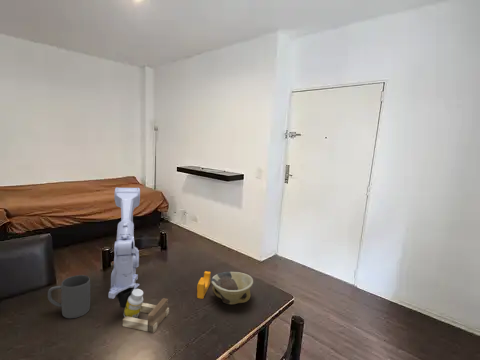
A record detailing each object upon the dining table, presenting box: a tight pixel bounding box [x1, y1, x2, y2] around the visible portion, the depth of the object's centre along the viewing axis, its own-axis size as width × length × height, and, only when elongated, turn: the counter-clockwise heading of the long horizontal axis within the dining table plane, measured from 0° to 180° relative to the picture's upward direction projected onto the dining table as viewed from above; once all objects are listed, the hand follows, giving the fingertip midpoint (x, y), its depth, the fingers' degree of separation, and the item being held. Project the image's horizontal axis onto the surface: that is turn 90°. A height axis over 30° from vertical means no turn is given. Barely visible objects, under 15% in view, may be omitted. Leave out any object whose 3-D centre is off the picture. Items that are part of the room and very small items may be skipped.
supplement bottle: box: [123, 288, 144, 318], centre depth 100 cm, size 5×5×10 cm
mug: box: [47, 274, 91, 319], centre depth 100 cm, size 14×9×12 cm
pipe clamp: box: [196, 270, 211, 300], centre depth 121 cm, size 12×4×6 cm, turn 172°
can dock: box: [122, 297, 170, 334], centre depth 99 cm, size 12×11×6 cm
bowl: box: [210, 271, 254, 305], centre depth 115 cm, size 18×18×10 cm
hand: (123, 306), depth 101 cm, fingers closed, pressing on supplement bottle
